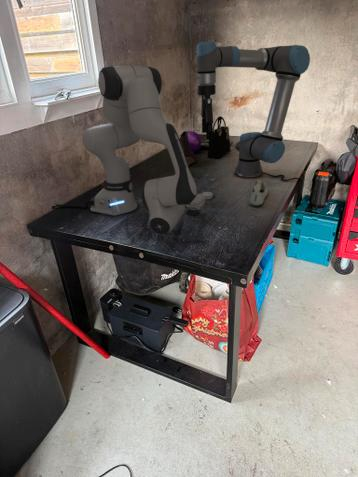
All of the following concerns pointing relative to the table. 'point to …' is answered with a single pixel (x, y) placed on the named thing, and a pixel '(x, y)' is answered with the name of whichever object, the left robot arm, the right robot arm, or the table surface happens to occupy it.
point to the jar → (192, 212)
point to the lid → (208, 195)
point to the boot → (187, 148)
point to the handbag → (219, 140)
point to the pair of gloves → (205, 143)
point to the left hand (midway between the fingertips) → (183, 191)
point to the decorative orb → (194, 141)
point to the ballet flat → (258, 193)
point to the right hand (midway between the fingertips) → (207, 136)
